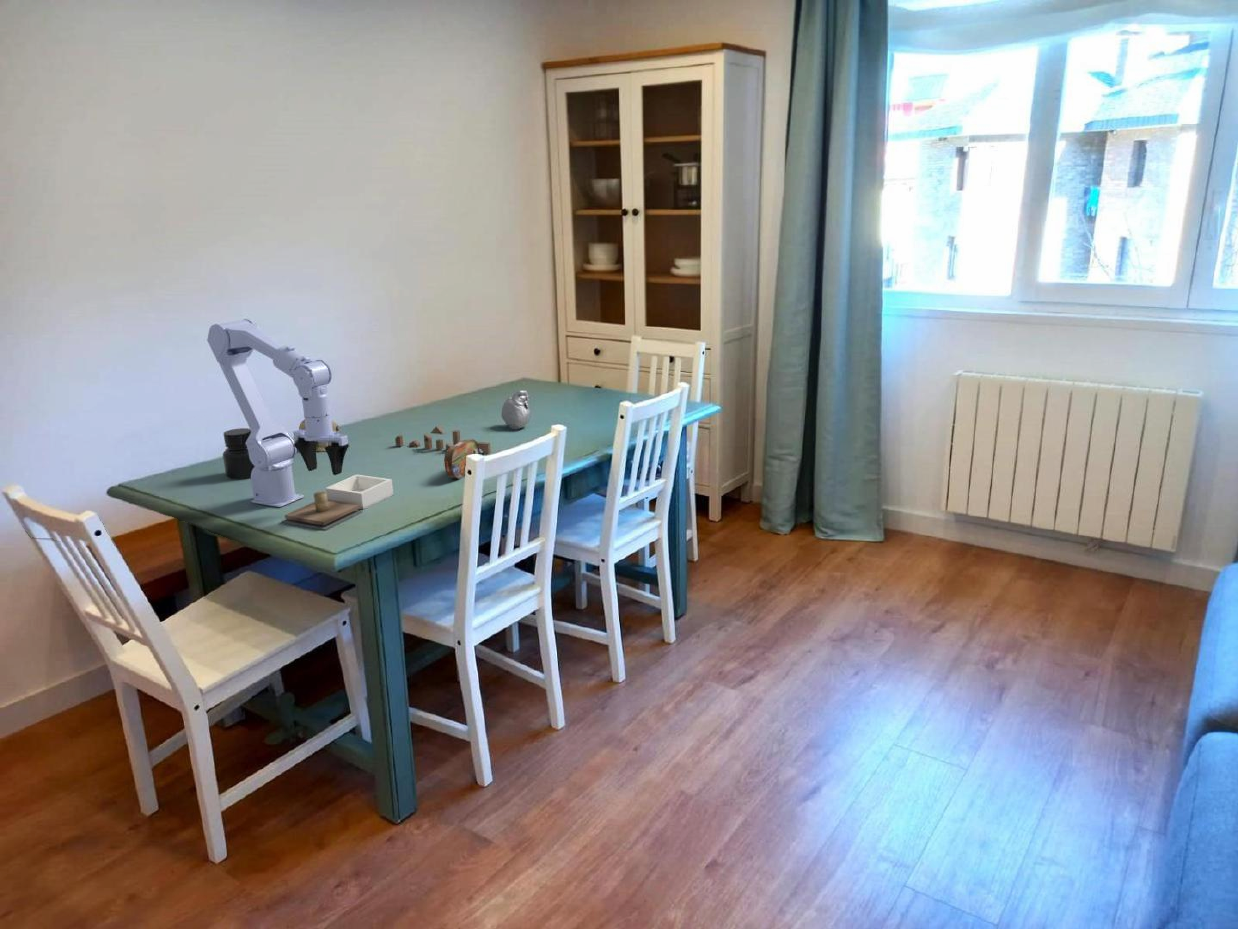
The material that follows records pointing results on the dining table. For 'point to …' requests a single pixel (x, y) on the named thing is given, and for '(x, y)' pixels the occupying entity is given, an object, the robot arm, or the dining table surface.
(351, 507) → the lid
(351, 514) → the mat
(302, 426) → the ceramic model
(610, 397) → the dining table surface
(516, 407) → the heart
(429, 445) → the wooden blocks
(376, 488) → the box
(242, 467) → the ink bottle
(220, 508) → the dining table surface
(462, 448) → the tin
